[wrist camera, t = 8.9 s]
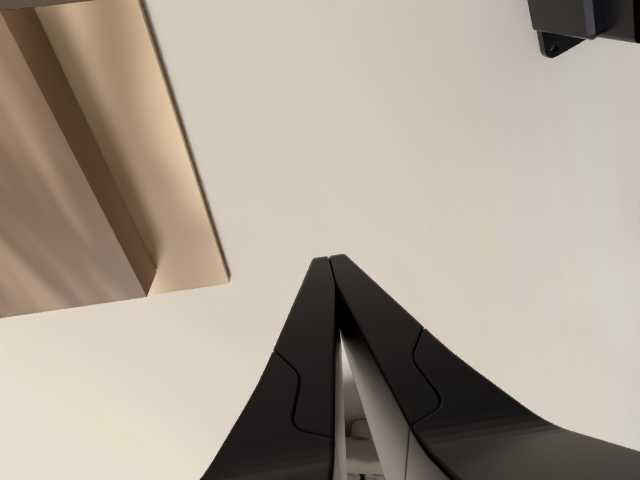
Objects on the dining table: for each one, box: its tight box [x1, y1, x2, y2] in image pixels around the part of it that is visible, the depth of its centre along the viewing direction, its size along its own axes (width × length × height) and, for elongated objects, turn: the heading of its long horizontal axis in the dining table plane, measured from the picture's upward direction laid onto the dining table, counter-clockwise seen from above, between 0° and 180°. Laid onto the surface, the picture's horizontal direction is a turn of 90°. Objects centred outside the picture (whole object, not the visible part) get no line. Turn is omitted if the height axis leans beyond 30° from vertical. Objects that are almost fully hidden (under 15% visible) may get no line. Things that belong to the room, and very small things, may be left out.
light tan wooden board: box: [34, 0, 230, 295], centre depth 21 cm, size 18×17×1 cm
